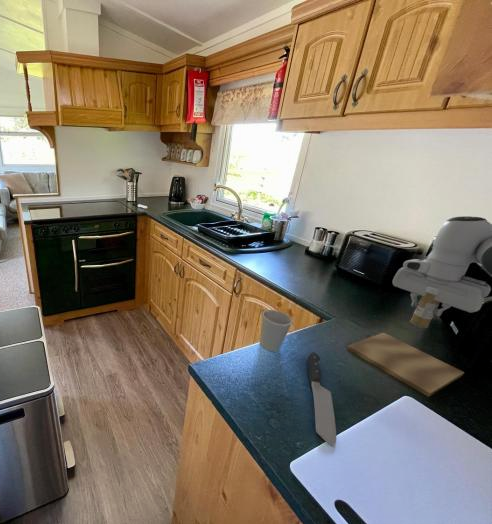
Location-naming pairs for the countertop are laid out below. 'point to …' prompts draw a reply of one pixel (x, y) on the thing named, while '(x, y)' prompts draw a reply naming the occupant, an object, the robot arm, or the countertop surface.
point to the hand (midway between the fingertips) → (425, 310)
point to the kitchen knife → (321, 402)
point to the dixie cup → (274, 329)
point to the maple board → (406, 363)
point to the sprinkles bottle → (425, 308)
